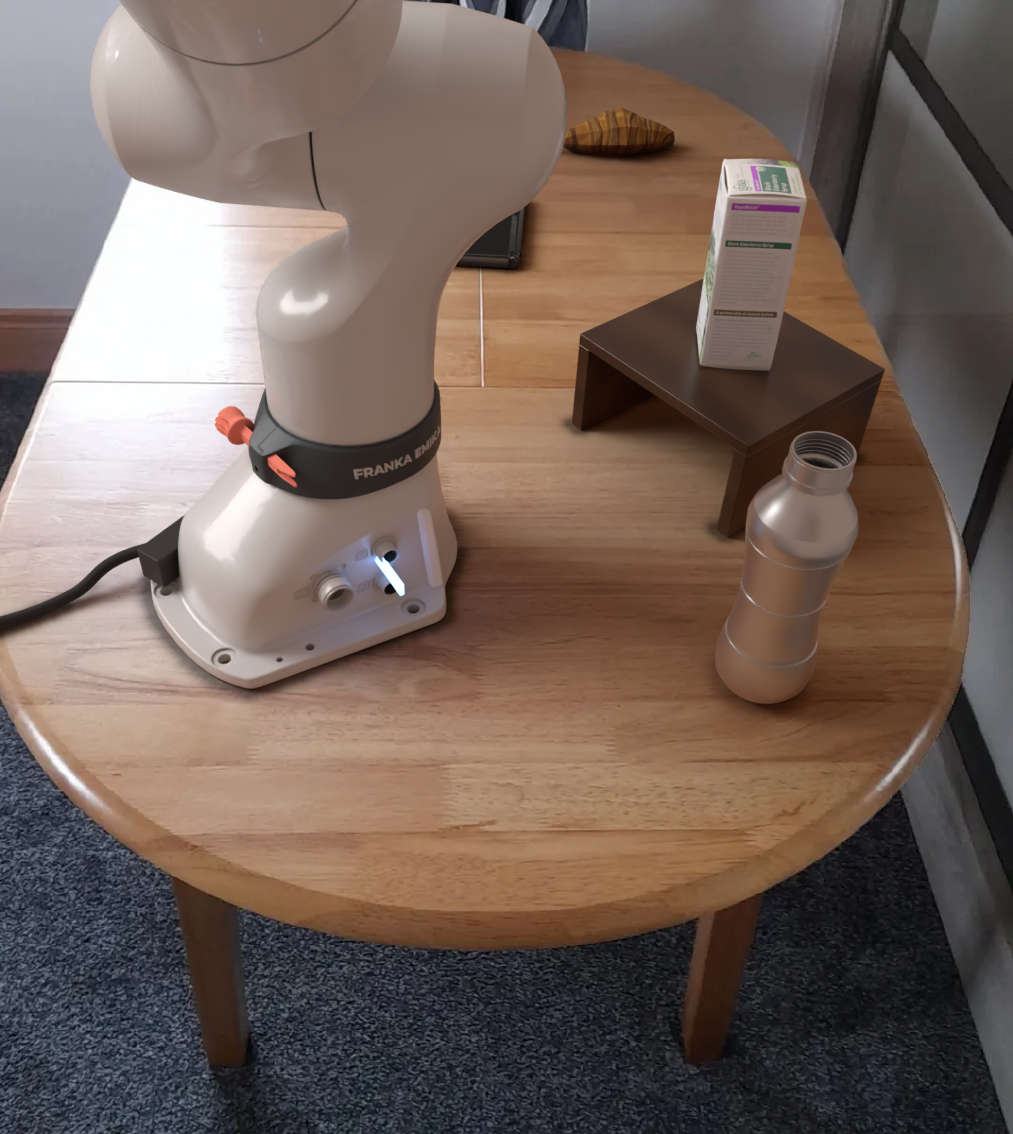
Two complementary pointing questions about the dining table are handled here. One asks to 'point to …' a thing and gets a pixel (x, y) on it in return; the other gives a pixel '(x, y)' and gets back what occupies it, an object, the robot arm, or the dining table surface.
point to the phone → (497, 245)
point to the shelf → (726, 388)
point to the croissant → (618, 134)
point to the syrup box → (749, 262)
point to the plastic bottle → (789, 570)
